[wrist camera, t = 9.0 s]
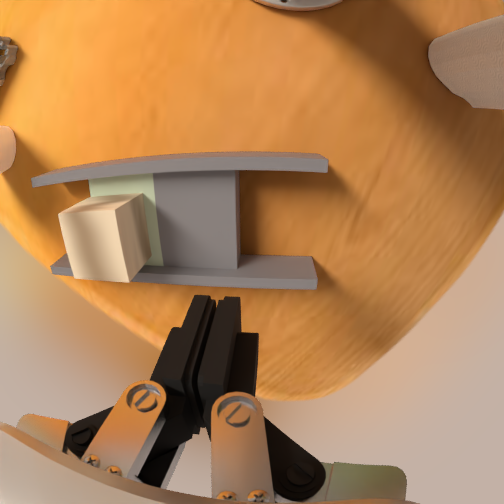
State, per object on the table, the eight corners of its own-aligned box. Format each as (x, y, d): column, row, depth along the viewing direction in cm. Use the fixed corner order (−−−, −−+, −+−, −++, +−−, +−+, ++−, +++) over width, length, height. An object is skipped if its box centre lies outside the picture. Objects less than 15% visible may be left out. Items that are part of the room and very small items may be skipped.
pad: (164, 165, 25) (152, 170, 22) (173, 252, 29) (163, 266, 26) (104, 170, 25) (87, 176, 22) (116, 250, 29) (103, 263, 26)
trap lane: (318, 153, 23) (328, 159, 19) (310, 265, 28) (316, 289, 24) (56, 169, 25) (31, 178, 21) (73, 256, 30) (52, 274, 26)
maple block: (142, 192, 23) (114, 209, 18) (151, 255, 25) (129, 282, 21) (89, 197, 23) (57, 213, 19) (100, 254, 26) (74, 278, 21)
